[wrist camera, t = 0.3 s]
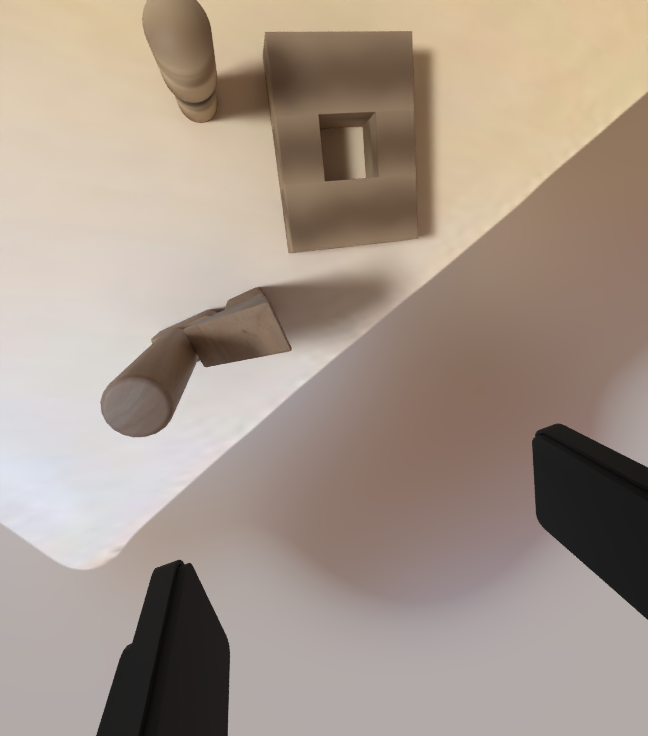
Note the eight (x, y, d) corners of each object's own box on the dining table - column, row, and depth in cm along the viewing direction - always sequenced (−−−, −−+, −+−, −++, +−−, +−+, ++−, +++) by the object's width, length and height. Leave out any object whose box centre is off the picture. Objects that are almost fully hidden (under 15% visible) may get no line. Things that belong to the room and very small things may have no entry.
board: (262, 56, 30) (265, 32, 27) (394, 54, 33) (412, 31, 29) (288, 253, 35) (293, 252, 32) (402, 240, 37) (417, 238, 34)
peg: (168, 74, 29) (134, -13, 20) (215, 73, 30) (204, -12, 21) (179, 127, 31) (151, 68, 21) (224, 125, 31) (217, 67, 22)
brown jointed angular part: (274, 318, 37) (302, 366, 20) (177, 364, 36) (121, 454, 19) (258, 285, 36) (274, 306, 19) (157, 331, 35) (79, 397, 18)
